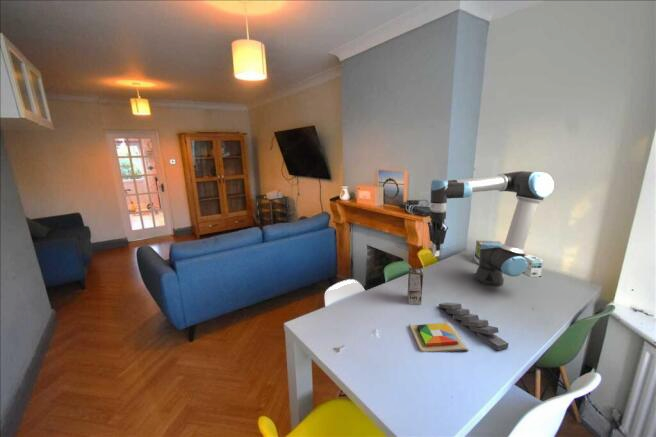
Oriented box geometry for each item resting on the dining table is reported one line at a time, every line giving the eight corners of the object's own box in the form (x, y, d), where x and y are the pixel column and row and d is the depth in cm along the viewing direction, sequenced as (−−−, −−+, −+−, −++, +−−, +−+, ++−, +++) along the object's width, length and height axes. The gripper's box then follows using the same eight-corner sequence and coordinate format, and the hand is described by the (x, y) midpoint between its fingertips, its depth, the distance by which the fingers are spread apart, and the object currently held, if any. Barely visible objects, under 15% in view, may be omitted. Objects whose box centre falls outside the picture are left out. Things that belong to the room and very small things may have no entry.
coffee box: (421, 305, 143) (423, 274, 139) (408, 303, 144) (409, 274, 141) (419, 296, 151) (421, 267, 148) (407, 295, 153) (408, 267, 149)
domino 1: (438, 303, 140) (451, 305, 131) (447, 302, 142) (460, 303, 132) (439, 308, 140) (452, 310, 130) (448, 306, 141) (461, 308, 132)
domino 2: (445, 308, 136) (459, 311, 126) (454, 307, 137) (469, 309, 127) (446, 313, 135) (460, 315, 126) (455, 311, 136) (469, 314, 127)
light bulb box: (541, 277, 172) (544, 260, 169) (530, 277, 172) (532, 260, 170) (529, 270, 182) (531, 254, 180) (518, 270, 182) (520, 254, 180)
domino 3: (452, 314, 131) (468, 317, 121) (461, 312, 132) (478, 315, 123) (453, 319, 130) (469, 322, 121) (462, 317, 132) (479, 320, 123)
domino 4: (460, 320, 126) (478, 322, 117) (470, 318, 128) (487, 320, 118) (462, 325, 126) (479, 327, 116) (471, 323, 127) (489, 325, 118)
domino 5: (469, 325, 122) (487, 330, 112) (478, 323, 123) (497, 327, 114) (470, 330, 121) (488, 335, 112) (479, 328, 123) (498, 332, 113)
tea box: (478, 265, 191) (481, 244, 188) (473, 260, 201) (475, 240, 198) (503, 266, 189) (505, 245, 186) (497, 261, 199) (499, 240, 195)
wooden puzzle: (408, 326, 126) (408, 319, 125) (451, 326, 126) (451, 319, 125) (419, 353, 109) (420, 345, 108) (469, 353, 109) (470, 345, 108)
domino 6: (477, 331, 118) (498, 346, 108) (486, 329, 119) (508, 343, 110) (477, 336, 118) (498, 350, 109) (486, 334, 119) (508, 348, 110)
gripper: (423, 209, 147) (422, 252, 152) (440, 214, 135) (438, 261, 140) (435, 208, 149) (434, 251, 154) (453, 212, 137) (450, 258, 142)
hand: (436, 255), depth 147 cm, fingers closed
